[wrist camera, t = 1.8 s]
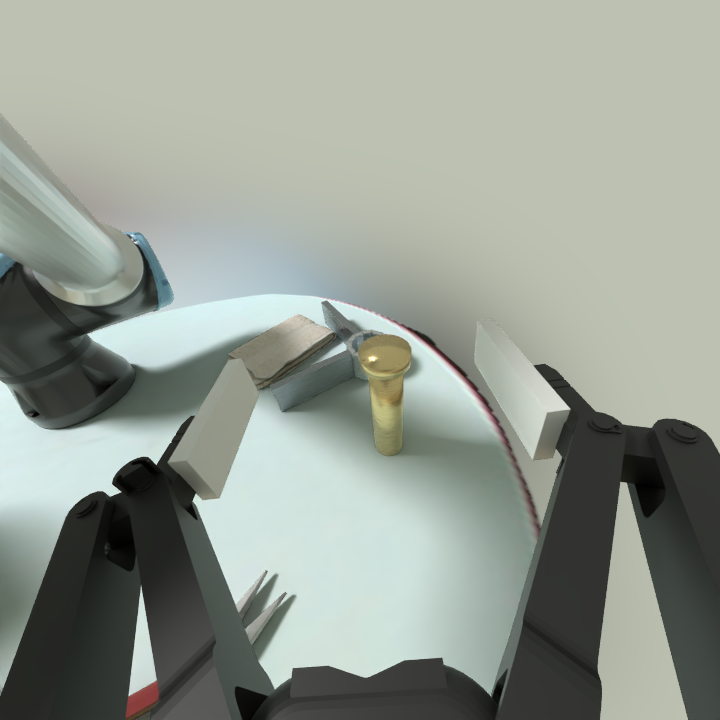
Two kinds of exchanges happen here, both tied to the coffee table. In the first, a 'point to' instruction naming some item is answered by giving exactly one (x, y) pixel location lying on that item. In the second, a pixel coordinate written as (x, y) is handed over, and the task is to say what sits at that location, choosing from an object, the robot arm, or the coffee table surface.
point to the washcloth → (282, 349)
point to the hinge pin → (386, 387)
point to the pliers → (149, 695)
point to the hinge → (325, 364)
